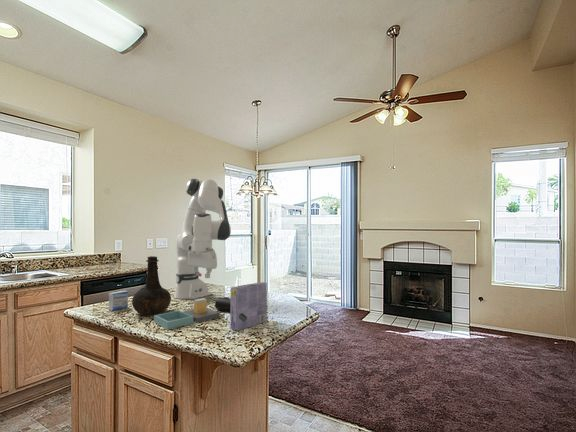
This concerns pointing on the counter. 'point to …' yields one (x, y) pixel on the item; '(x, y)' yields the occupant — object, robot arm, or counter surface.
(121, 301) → the medicine box
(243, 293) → the cake pan box
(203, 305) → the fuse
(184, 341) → the counter surface
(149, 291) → the dark brown vase
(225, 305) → the end cap
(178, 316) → the parts tray
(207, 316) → the socket block
